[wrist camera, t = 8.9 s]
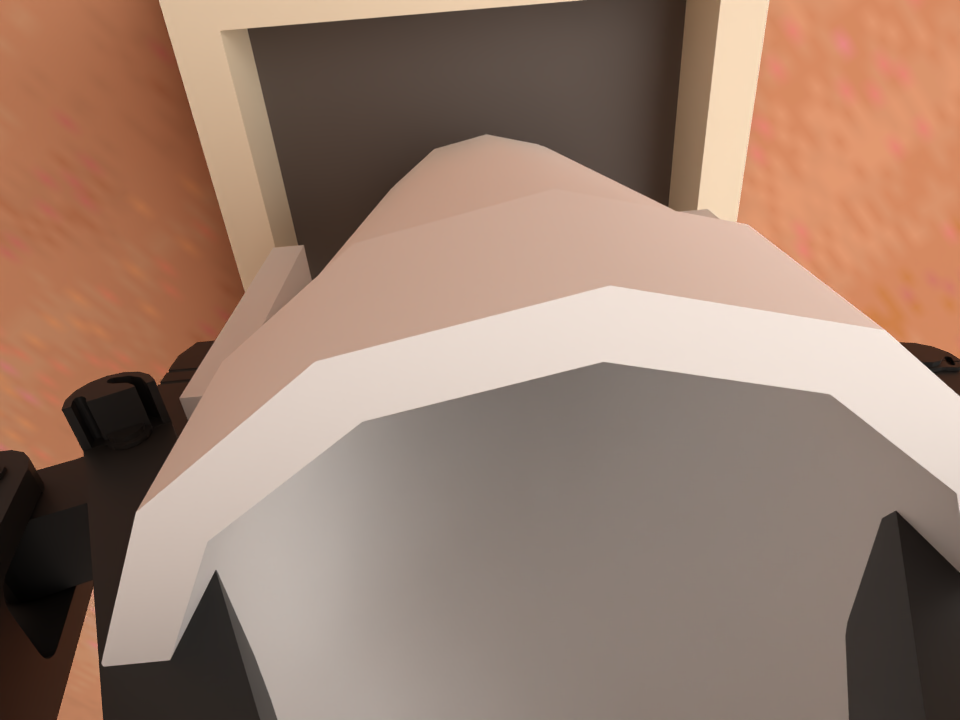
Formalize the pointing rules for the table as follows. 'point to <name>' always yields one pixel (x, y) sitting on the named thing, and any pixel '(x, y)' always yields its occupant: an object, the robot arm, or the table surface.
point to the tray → (457, 100)
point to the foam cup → (544, 465)
